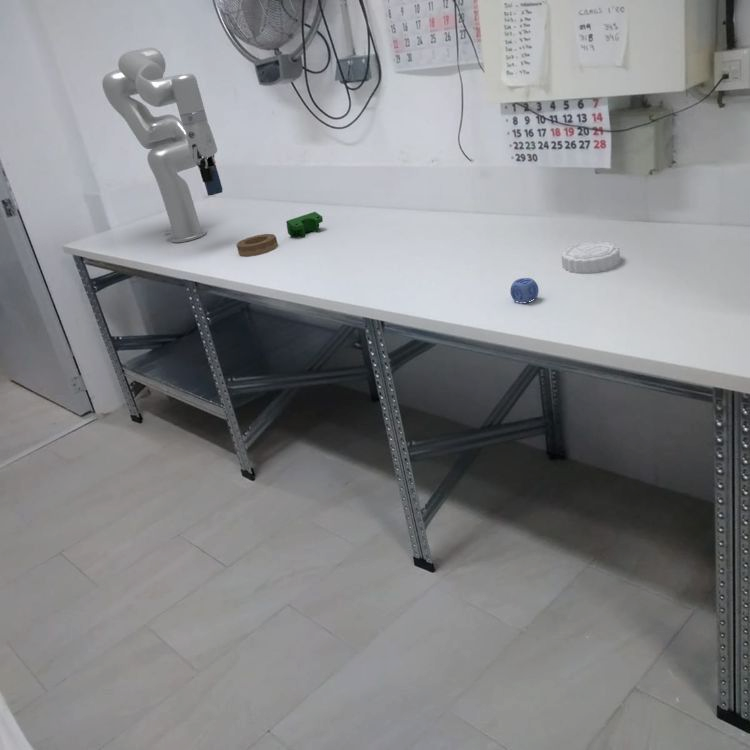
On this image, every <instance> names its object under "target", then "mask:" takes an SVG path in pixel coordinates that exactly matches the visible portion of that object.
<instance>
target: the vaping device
mask: <svg viewBox="0 0 750 750" xmlns="http://www.w3.org/2000/svg"><path fill="white" fill-rule="evenodd" d="M199 158H203V157H200V156H199ZM201 161H203V162H204V160H201ZM208 168H210V171H211V174H212V178H213V181H210V182H203V183H204V186H205V190H206V193H207V196H213V195H219V194H221V193H223V186H222V182H221V179H220V175H219V171H218V169H217V170H216V169H215V166H210V167H208Z"/></svg>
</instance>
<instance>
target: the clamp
mask: <svg viewBox="0 0 750 750" xmlns="http://www.w3.org/2000/svg"><path fill="white" fill-rule="evenodd" d="M323 222H324V221H323V216H322V215H320V214H319V213H318V212H316V211H313V212H309V213H306V214H304V215H300V216H297V217H295V218H291V219H288V220H286V222H285V223H286V229H287V234H288V235H289V236H290V237H292V238H295V237H299V236H301V237H303V238H305V237H306V234H307V233H310V232H315V233H319V227H320V224H321V223H323Z"/></svg>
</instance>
